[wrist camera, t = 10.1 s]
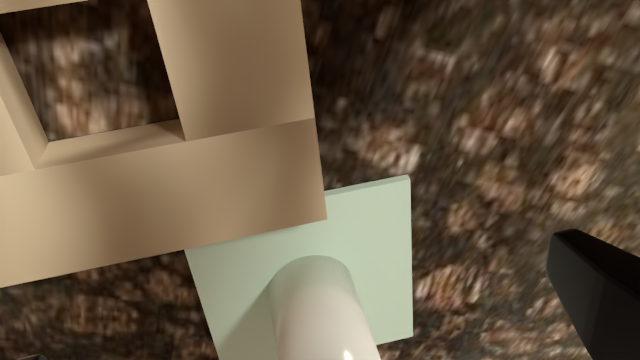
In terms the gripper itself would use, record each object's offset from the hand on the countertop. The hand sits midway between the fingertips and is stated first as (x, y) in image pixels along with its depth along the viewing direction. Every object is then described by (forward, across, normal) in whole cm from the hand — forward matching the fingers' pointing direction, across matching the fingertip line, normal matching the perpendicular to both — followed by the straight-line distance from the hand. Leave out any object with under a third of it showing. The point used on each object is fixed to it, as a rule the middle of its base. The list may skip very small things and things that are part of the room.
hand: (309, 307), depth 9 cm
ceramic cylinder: (+12, 0, +11) cm, 16 cm away
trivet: (+12, 0, +11) cm, 16 cm away
